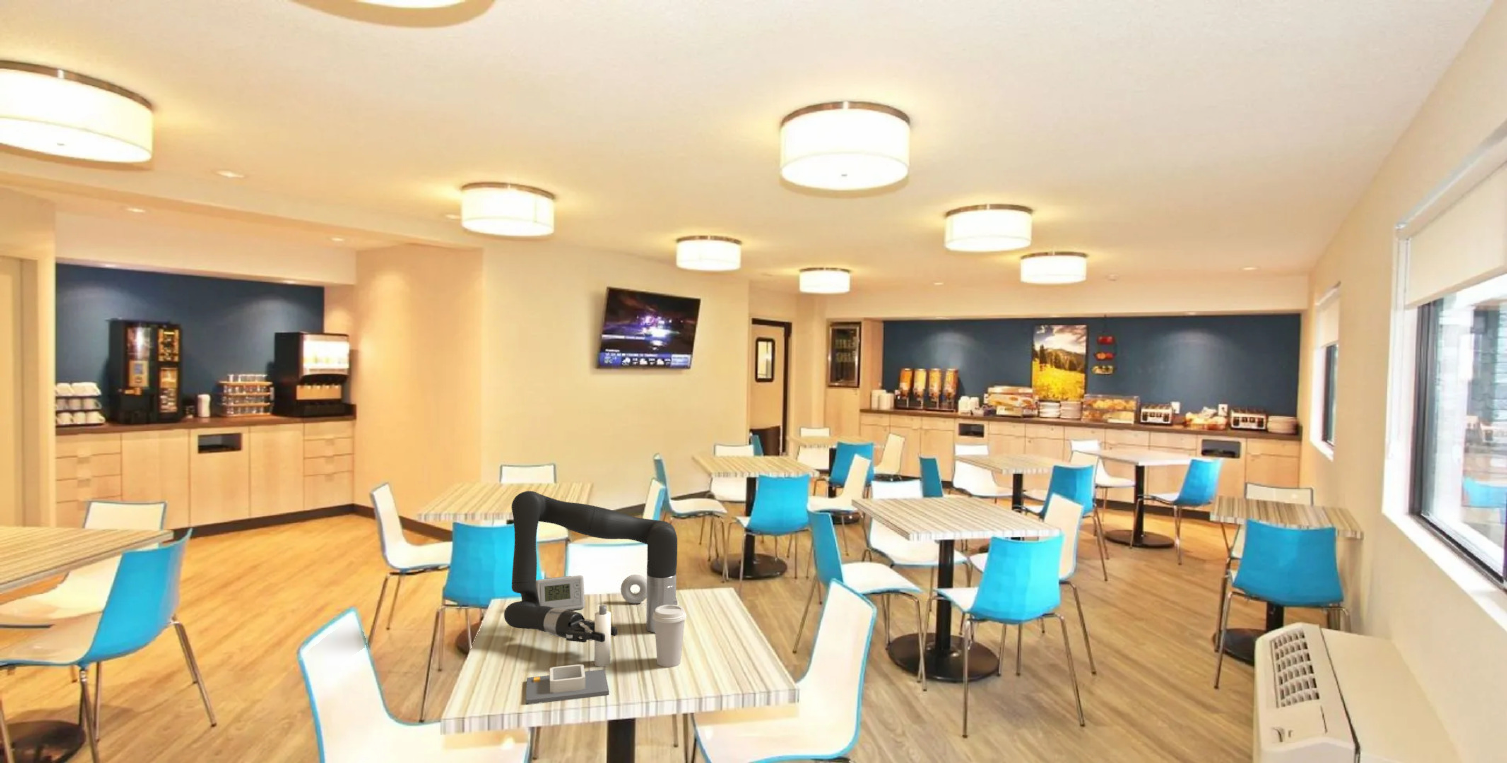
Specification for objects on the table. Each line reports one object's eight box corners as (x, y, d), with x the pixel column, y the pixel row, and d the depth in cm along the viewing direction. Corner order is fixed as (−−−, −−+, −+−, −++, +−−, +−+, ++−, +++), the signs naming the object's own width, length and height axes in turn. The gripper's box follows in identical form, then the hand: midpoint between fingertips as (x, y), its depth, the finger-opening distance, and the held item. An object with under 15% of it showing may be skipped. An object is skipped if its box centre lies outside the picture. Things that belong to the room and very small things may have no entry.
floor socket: (604, 672, 195) (604, 658, 195) (608, 694, 183) (609, 679, 183) (526, 681, 190) (526, 666, 189) (526, 704, 177) (526, 688, 177)
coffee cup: (691, 658, 206) (692, 606, 205) (677, 671, 197) (677, 617, 196) (661, 653, 209) (661, 601, 208) (645, 666, 200) (646, 612, 199)
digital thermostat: (533, 615, 238) (534, 583, 237) (536, 606, 246) (536, 575, 246) (584, 612, 241) (584, 581, 241) (585, 603, 250) (585, 573, 249)
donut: (649, 601, 253) (650, 573, 253) (649, 604, 249) (649, 576, 249) (621, 601, 252) (621, 573, 252) (619, 605, 249) (620, 576, 248)
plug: (609, 659, 204) (610, 603, 204) (611, 665, 200) (611, 608, 199) (593, 660, 203) (594, 604, 202) (595, 667, 199) (595, 609, 198)
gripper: (545, 618, 202) (593, 629, 193) (581, 603, 214) (626, 613, 206) (545, 644, 202) (592, 657, 194) (580, 628, 214) (626, 639, 206)
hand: (610, 634), depth 200 cm, fingers open, 4 cm apart
